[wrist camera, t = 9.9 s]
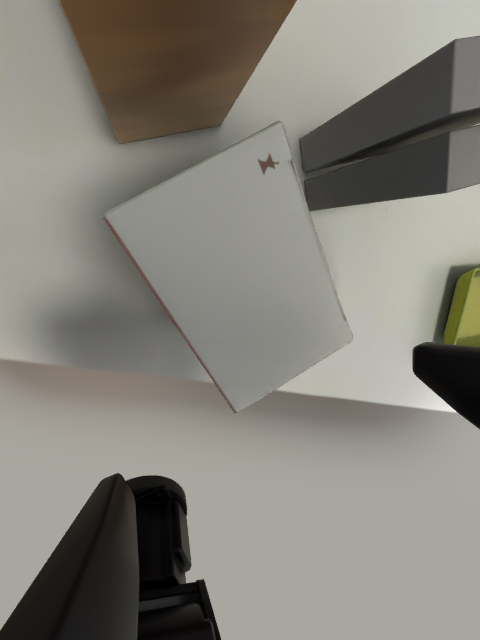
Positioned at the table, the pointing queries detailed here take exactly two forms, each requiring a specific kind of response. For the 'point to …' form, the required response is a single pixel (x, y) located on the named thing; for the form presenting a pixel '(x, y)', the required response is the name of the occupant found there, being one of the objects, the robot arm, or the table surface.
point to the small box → (238, 266)
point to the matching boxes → (171, 58)
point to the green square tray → (465, 311)
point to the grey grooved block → (403, 135)
